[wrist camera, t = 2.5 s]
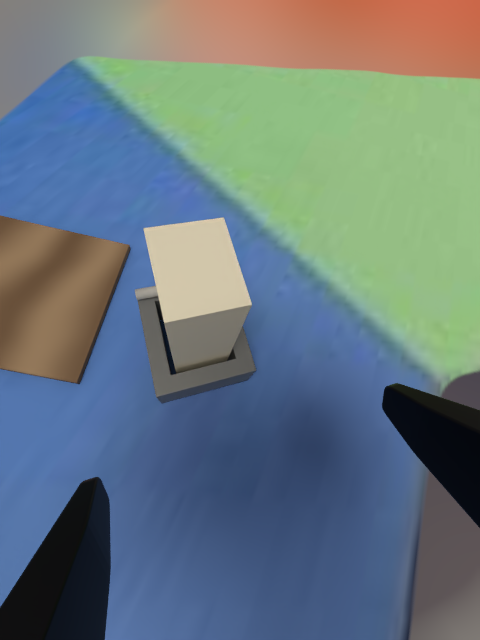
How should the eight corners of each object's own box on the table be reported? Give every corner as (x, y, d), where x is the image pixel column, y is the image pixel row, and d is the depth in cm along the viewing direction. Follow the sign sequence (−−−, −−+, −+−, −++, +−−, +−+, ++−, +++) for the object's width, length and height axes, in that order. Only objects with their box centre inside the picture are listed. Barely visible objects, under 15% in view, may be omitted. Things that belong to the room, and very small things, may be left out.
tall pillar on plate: (224, 367, 26) (252, 304, 14) (177, 378, 25) (164, 323, 13) (209, 314, 27) (223, 217, 15) (165, 323, 26) (143, 228, 14)
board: (130, 248, 29) (129, 245, 28) (79, 384, 24) (76, 382, 23) (0, 219, 28) (-4, 214, 27) (-82, 353, 23) (-89, 351, 22)
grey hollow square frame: (247, 380, 26) (258, 368, 21) (161, 403, 24) (154, 395, 19) (222, 295, 28) (227, 268, 24) (143, 310, 26) (133, 285, 22)
